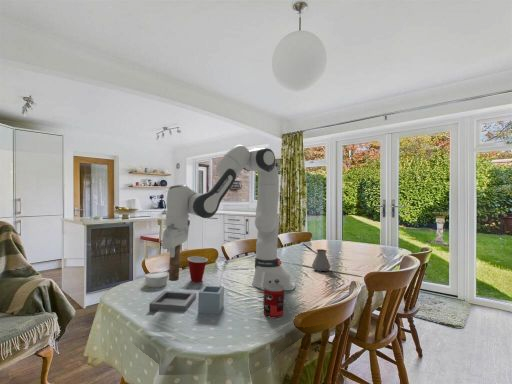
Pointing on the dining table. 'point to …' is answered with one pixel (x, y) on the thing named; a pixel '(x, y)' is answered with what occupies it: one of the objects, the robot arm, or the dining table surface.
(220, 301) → the grey square bin
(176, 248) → the walnut dowel
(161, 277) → the ramekin
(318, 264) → the coffee pot
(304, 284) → the dining table surface
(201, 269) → the plastic cup
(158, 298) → the tray
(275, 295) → the canned food
